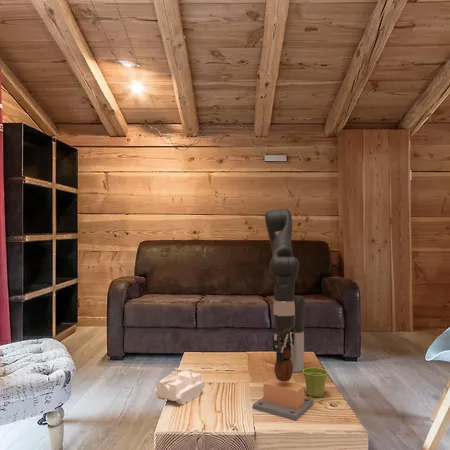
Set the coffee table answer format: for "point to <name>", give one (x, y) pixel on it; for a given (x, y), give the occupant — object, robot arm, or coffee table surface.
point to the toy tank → (180, 386)
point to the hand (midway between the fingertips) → (283, 360)
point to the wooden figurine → (284, 367)
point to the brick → (284, 393)
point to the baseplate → (283, 408)
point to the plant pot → (315, 381)
